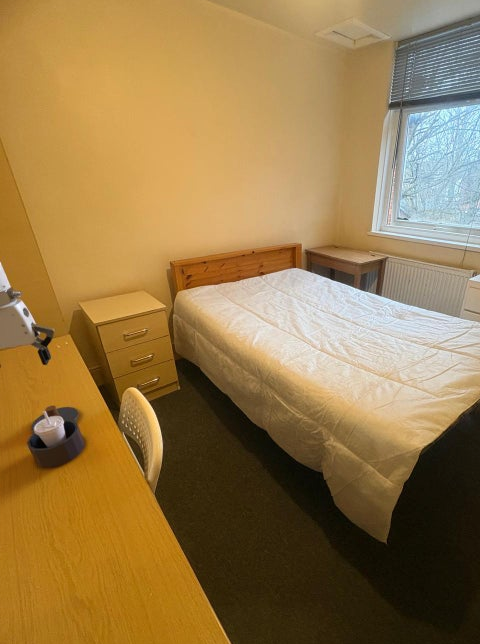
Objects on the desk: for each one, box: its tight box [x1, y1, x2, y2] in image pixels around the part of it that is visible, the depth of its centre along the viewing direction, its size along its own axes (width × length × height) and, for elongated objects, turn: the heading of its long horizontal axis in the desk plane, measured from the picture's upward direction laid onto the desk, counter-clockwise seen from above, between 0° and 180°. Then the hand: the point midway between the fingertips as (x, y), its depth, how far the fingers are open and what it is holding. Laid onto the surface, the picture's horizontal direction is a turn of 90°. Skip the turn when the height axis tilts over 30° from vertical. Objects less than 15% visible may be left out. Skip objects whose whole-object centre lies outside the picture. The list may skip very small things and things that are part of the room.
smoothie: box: [34, 410, 66, 448], centre depth 86 cm, size 6×6×14 cm
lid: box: [30, 404, 80, 434], centre depth 98 cm, size 12×12×6 cm
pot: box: [26, 420, 86, 469], centre depth 88 cm, size 11×11×6 cm
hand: (22, 366), depth 76 cm, fingers open, 9 cm apart
